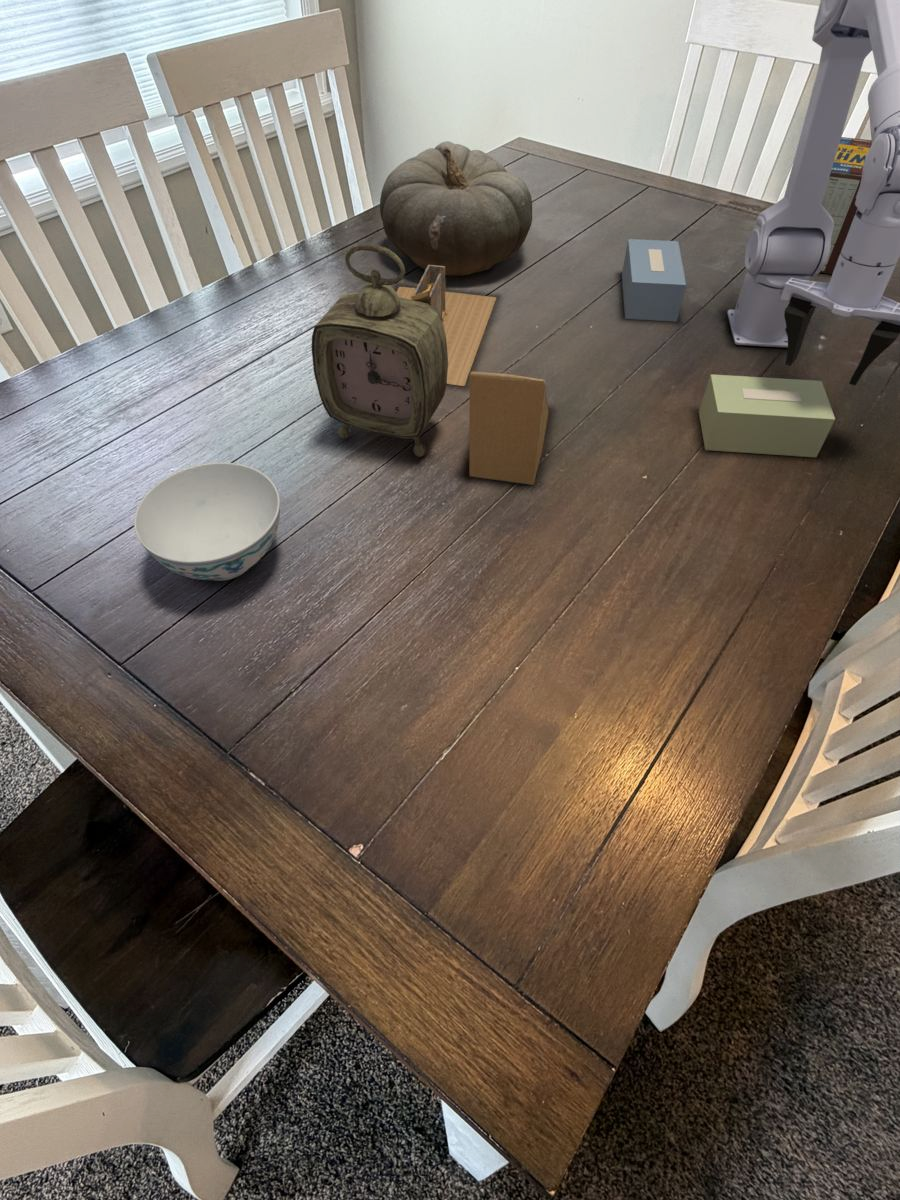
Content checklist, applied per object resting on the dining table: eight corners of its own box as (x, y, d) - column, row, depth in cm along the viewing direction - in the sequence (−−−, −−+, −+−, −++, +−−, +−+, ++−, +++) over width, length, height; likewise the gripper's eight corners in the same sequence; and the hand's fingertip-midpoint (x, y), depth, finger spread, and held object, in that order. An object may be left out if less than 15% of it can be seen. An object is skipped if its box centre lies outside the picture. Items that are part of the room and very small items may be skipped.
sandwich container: (551, 411, 100) (563, 307, 88) (535, 485, 90) (547, 381, 78) (489, 403, 101) (493, 300, 89) (467, 476, 91) (469, 371, 80)
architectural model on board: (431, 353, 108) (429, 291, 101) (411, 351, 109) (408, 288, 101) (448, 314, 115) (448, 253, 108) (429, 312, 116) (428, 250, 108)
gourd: (441, 193, 137) (447, 93, 122) (551, 251, 131) (572, 154, 116) (355, 258, 127) (350, 157, 112) (470, 324, 121) (481, 228, 106)
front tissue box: (698, 412, 99) (710, 373, 94) (804, 419, 98) (822, 379, 93) (704, 450, 94) (718, 410, 89) (816, 457, 93) (836, 418, 88)
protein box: (835, 235, 132) (873, 139, 120) (833, 275, 123) (875, 176, 110) (774, 227, 134) (806, 131, 122) (769, 266, 125) (803, 167, 113)
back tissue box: (621, 274, 123) (628, 237, 118) (669, 277, 122) (678, 240, 118) (624, 319, 114) (632, 280, 109) (676, 321, 114) (686, 283, 109)
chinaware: (228, 631, 76) (209, 583, 70) (128, 574, 81) (102, 525, 75) (318, 543, 84) (308, 493, 78) (222, 496, 89) (205, 445, 83)
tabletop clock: (325, 442, 95) (293, 251, 76) (354, 403, 101) (331, 215, 81) (428, 467, 92) (422, 274, 73) (453, 425, 98) (453, 235, 78)
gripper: (789, 252, 80) (751, 366, 89) (932, 286, 74) (875, 405, 83) (810, 232, 83) (772, 344, 93) (947, 263, 77) (891, 379, 87)
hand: (821, 371), depth 89 cm, fingers open, 7 cm apart
